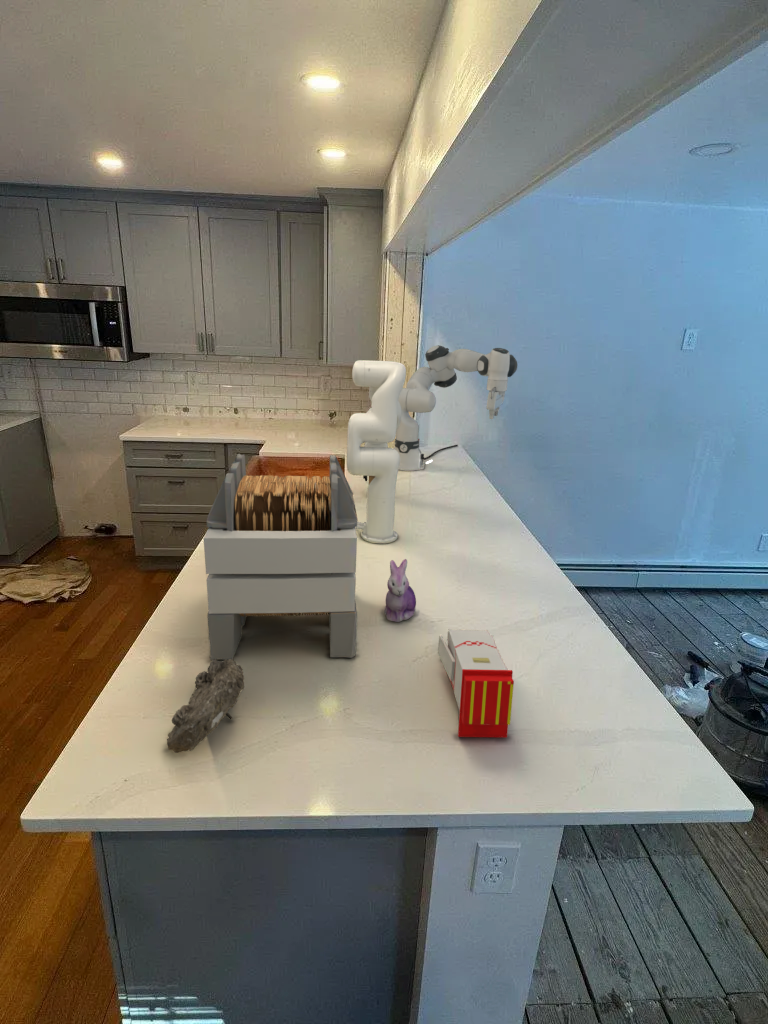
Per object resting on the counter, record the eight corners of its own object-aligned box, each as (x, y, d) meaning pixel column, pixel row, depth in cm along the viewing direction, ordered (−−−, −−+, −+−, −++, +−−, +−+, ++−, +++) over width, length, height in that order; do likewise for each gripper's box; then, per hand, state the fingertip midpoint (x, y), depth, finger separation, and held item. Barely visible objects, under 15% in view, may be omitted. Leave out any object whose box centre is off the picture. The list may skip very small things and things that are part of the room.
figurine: (392, 627, 141) (395, 572, 136) (374, 608, 149) (376, 556, 144) (425, 619, 145) (429, 566, 140) (405, 601, 154) (408, 550, 149)
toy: (488, 613, 130) (523, 677, 101) (484, 667, 133) (517, 744, 104) (435, 612, 130) (455, 676, 101) (432, 666, 133) (451, 743, 103)
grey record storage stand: (230, 589, 156) (222, 444, 142) (349, 588, 159) (352, 446, 146) (207, 662, 124) (194, 484, 110) (356, 658, 128) (362, 486, 114)
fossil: (192, 660, 117) (244, 628, 112) (224, 691, 120) (276, 661, 115) (142, 746, 98) (202, 712, 93) (182, 779, 101) (242, 748, 96)
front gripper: (356, 440, 226) (355, 483, 232) (398, 440, 229) (396, 482, 235) (354, 436, 233) (353, 477, 239) (395, 436, 236) (393, 477, 242)
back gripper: (499, 389, 242) (495, 421, 247) (508, 384, 260) (504, 414, 265) (484, 388, 244) (481, 420, 249) (494, 383, 262) (491, 413, 267)
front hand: (374, 479), depth 237 cm, fingers open, 6 cm apart
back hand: (493, 417), depth 257 cm, fingers open, 8 cm apart
